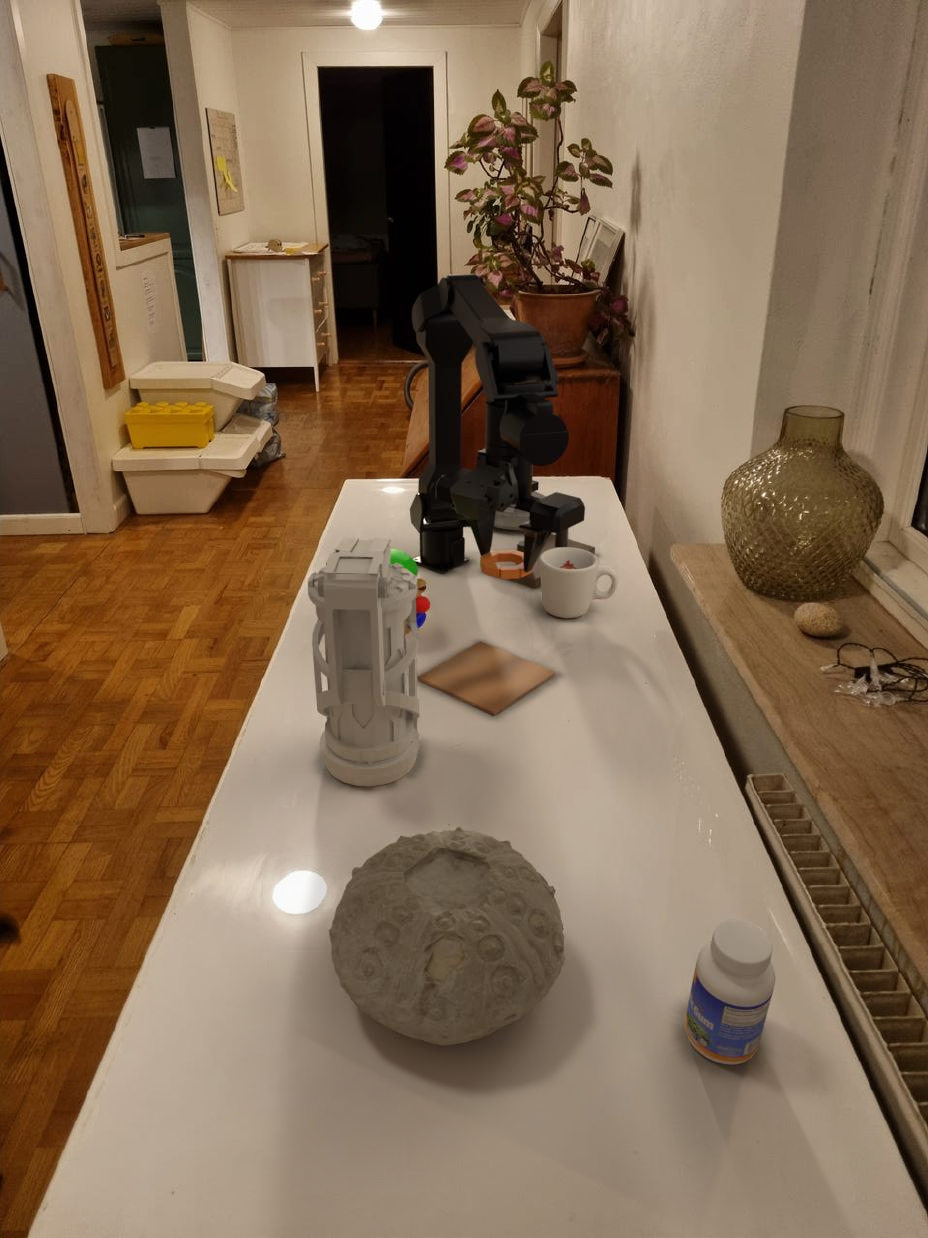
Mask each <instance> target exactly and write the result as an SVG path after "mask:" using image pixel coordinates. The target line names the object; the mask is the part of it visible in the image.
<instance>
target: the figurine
mask: <svg viewBox="0 0 928 1238" xmlns="http://www.w3.org/2000/svg"><path fill="white" fill-rule="evenodd" d="M413 559H414V558H412V557H411V556H410V555H409V554H408V553H406V552H405V551H402V550H401V549H398V548H391V558H390V564H393V565H394V563H398V564H401V565H402V566H403V568H405V569H408V570H409V571H410V572H411V573H412V574H414V575H415V576H417V594H416V623H417V627H418V629H420V628H421V627H422V626H423V625H424V624H425V622H426V620H427V612H428V611H429V610H430V609H431V601H430V599H429V598H428V597H426V596H424V595H423V593H424V592H425V591H426V590H427V588H428V587H427V581H426V580H425V579H424V578H422V577H418V573H419V568H418V564H416V562H415V560H413ZM409 634H411V630H410V627H409V625H408V623H407V622H406V620H405V636H406V635H409Z"/></svg>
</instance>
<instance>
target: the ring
mask: <svg viewBox="0 0 928 1238" xmlns="http://www.w3.org/2000/svg"><path fill="white" fill-rule="evenodd" d="M513 550H514V551H513ZM523 558H524V553H523V552H520V551H516V550H515V549H494V550H490V552H489V553H487V554H485V555H482V556H481V555H480V557H479V566H480V570H481V573H482V574H484V575H486V576H489V577H492V578H495V579H500V580H509V579H516V578H519V577H521V578H522V577H524V576H526V575H528V574H530V573H532V571H533V568H532V570H531V571H529V572H524V564H523ZM497 562H513V563H517V564H519V565H517V566H499V565H496V564H495V563H497Z"/></svg>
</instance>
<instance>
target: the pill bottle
mask: <svg viewBox="0 0 928 1238" xmlns="http://www.w3.org/2000/svg"><path fill="white" fill-rule="evenodd" d="M772 955H773V943H772V940H771V938H770V936H769V935H768V933H767V932H766V931H765V930H764V929H763V928H761V927H759V926H758V925H757V924H755V923H753V922H750V921H748V920H744V919H739V918H736V919H735V918H734V919H727V920H724V921H722V922H720V923H719V924H717V926H715V928H714V930H713V933H712V937H711V940H710V941H709V942H707V943H705V944H704V945H703V946H702V947H701V949H700V951H699V952H698V956H697V958H696V961H695V968H694V972H693V976H692V983H691V987H690V992H689V997H688V1002H687V1008H686V1014H685V1019H684V1028H685V1034H686V1037H687V1039H688V1041H689V1043H690V1044H691V1046H692V1047H693V1048H694V1049H695V1050H696V1051H697V1052H698V1053H699V1054H700V1055H702V1056H703V1057H705V1058H706V1059H708V1060H710V1061H713V1062H715V1063H719V1064H724V1065H730V1066H731V1065H740V1064H743V1063H746V1062H748V1061H749V1060H750V1059H752V1058H753V1057H754V1056H755V1055H756V1053H757V1052H758V1049H759V1046H760V1043H761V1039H762V1035H763V1031H764V1027H765V1023H766V1021H767V1020H766V1019H767V1015H768V1013H769V1008H770V1004H771V1001H772V997H773V994H774V989H775V985H776V971H775V967H774V965H773V963H772Z"/></svg>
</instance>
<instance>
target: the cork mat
mask: <svg viewBox="0 0 928 1238" xmlns="http://www.w3.org/2000/svg"><path fill="white" fill-rule="evenodd" d="M555 676H556V672H555V671H553V670H551V669H549V668H547V667H544V666H542V665H539V664H537V663H534V662H531V661H530V660H527V659H524V658H522V657H520V656H517V655H515V654H512V653H511V652H508V651H506V650H503V649H501V648H498V647H496V646H493V645H491V644H488V643H486V642H484V641H481V640H479V641H478V642H475V643H474V644H473V645H471V646H469V647H467V648H465V649H464V650H462V651H460V652H459V653H457V654H455V655H453V656H451V657H450V658H448V659H446V660H445V661H443V662H441V663H439V664H438V665H436V666H434V667H432V668H430V669H428V670H427V671H426V672H424V673H421V674H420V675H417V681H420V682H422V683H424V684H426V685H428V686H430V687H433V688H435V689H437V690H438V691H441V692H444V693H445V694H448V695H450V696H451V697H454V698H456V699H458V700H460V701H463V702H464V703H466V704H469V705H471V706H472V707H476V708H477V709H480V710H481V711H483V712H486V713H488V714H491V715H492V716H496V715H498V714H500V713H501V712H502V711H504V710H505V709H507V708H508V707H510V706H511V705H513V704H514V703H516V702H517V701H519V700H520V699H522V698H523V697H525V696H526V695H528V694H530V692H533V690H535V689H536V688H538V687H540V686H541V685H543V684H544V683H546V682H547V681H549V680H550V679H551V678H553V677H555Z"/></svg>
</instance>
